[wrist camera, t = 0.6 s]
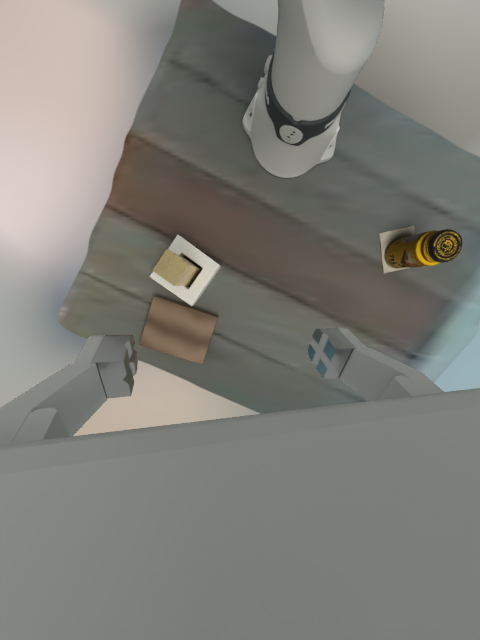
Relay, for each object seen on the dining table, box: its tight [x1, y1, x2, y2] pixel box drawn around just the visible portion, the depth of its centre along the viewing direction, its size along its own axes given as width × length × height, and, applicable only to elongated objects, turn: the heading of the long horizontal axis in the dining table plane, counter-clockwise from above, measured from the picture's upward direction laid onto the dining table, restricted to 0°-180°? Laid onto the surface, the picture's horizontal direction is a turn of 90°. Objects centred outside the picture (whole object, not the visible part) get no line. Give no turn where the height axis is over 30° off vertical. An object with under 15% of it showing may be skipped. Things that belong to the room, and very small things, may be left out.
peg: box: [152, 249, 201, 286], centre depth 43 cm, size 4×4×14 cm
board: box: [140, 296, 218, 364], centre depth 50 cm, size 11×14×2 cm
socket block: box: [150, 235, 221, 306], centre depth 48 cm, size 10×10×4 cm
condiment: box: [379, 226, 462, 273], centre depth 44 cm, size 7×8×12 cm
